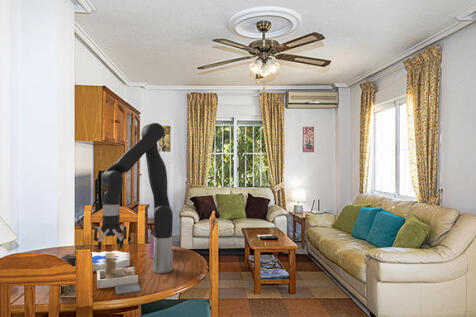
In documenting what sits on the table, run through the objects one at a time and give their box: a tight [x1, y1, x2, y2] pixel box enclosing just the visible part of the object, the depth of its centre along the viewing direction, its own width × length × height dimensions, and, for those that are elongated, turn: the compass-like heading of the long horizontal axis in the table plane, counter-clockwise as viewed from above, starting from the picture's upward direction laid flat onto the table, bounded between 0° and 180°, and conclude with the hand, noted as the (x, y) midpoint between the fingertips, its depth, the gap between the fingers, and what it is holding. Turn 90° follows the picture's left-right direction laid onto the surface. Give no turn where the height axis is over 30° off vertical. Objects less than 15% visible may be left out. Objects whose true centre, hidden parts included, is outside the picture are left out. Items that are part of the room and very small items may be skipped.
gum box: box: [149, 232, 154, 259], centre depth 210 cm, size 24×8×14 cm, turn 0°
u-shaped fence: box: [96, 266, 139, 289], centre depth 160 cm, size 17×15×4 cm
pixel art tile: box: [91, 250, 131, 272], centre depth 187 cm, size 28×4×28 cm
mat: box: [114, 282, 142, 295], centre depth 150 cm, size 10×10×1 cm
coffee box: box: [59, 253, 76, 297], centre depth 143 cm, size 9×6×16 cm
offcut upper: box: [123, 266, 136, 276], centre depth 163 cm, size 4×7×2 cm, turn 35°
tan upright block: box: [104, 253, 117, 279], centre depth 159 cm, size 4×10×12 cm, turn 23°
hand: (110, 249), depth 160 cm, fingers open, 8 cm apart
